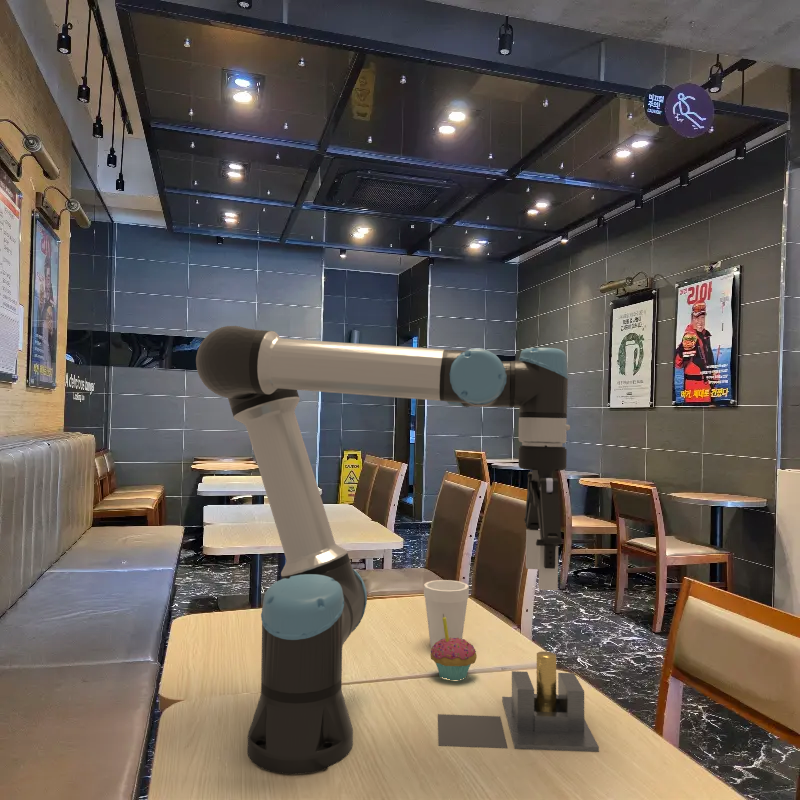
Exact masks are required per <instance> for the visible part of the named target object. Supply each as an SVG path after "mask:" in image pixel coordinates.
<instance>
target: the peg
mask: <svg viewBox="0 0 800 800" xmlns="http://www.w3.org/2000/svg"><path fill="white" fill-rule="evenodd" d="M536 694H537V712H556V695H557V654H555V653H554V652H552V651H539V652H536Z"/></svg>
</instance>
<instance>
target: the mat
mask: <svg viewBox="0 0 800 800" xmlns="http://www.w3.org/2000/svg"><path fill="white" fill-rule="evenodd" d="M501 718H502V717H501V716H499V715H473V714H470V715H468V714H446V713H445V714H444V713H443V714H442V713H437V739H438V740H437V741H438V742H437V743H438V744H437V745H438V747H454V748H455V747H457V748H458V747H460V748H481V749H482V748H483V749H484V748H487V749H509V748H508V744H507V739H506V735H505V732H504V727H503V723H502V719H501Z"/></svg>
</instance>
